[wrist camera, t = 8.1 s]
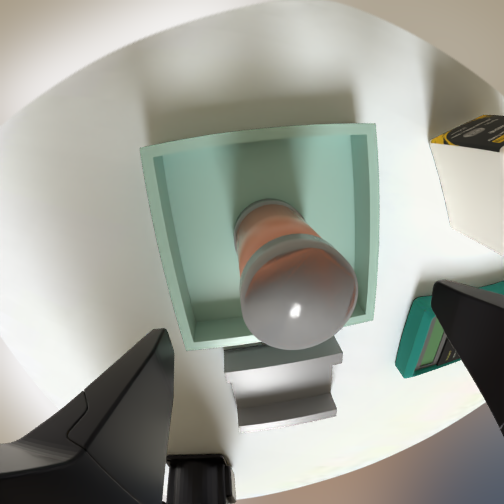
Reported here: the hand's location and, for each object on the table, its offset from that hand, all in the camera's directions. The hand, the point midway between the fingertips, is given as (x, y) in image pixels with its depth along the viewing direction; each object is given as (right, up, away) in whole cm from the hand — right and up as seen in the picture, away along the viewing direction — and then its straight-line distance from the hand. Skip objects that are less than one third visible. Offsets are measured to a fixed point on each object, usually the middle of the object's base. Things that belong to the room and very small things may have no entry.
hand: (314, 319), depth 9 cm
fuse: (-1, +3, +9) cm, 9 cm away
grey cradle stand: (0, -8, +13) cm, 16 cm away
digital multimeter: (+18, -4, +14) cm, 23 cm away
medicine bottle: (+15, +8, +9) cm, 19 cm away
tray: (-1, +3, +9) cm, 10 cm away
